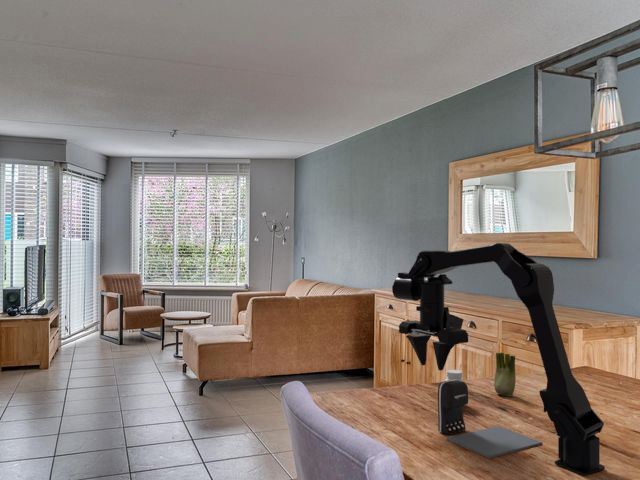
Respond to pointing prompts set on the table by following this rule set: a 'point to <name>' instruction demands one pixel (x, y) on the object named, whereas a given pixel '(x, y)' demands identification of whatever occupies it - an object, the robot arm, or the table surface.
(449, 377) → the pill bottle
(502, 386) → the fennel bulb
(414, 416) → the table surface
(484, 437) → the gray mat
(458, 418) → the battery charger
